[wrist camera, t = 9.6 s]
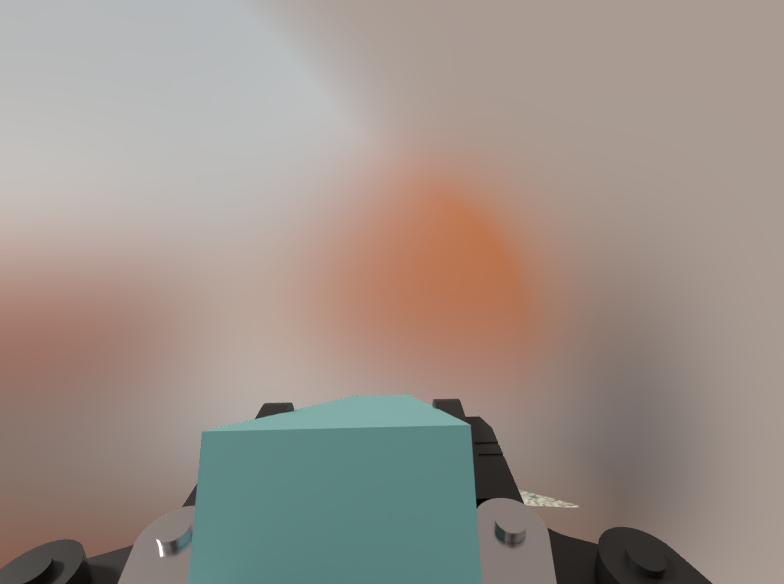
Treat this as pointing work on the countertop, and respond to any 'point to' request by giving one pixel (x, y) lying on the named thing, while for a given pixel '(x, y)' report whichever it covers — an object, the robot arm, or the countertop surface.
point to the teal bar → (338, 497)
